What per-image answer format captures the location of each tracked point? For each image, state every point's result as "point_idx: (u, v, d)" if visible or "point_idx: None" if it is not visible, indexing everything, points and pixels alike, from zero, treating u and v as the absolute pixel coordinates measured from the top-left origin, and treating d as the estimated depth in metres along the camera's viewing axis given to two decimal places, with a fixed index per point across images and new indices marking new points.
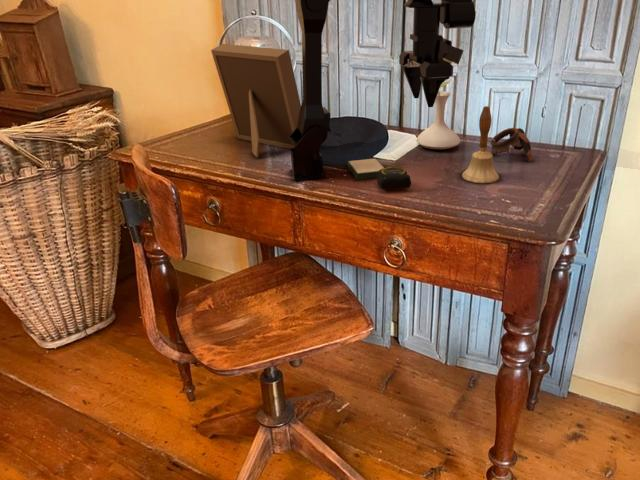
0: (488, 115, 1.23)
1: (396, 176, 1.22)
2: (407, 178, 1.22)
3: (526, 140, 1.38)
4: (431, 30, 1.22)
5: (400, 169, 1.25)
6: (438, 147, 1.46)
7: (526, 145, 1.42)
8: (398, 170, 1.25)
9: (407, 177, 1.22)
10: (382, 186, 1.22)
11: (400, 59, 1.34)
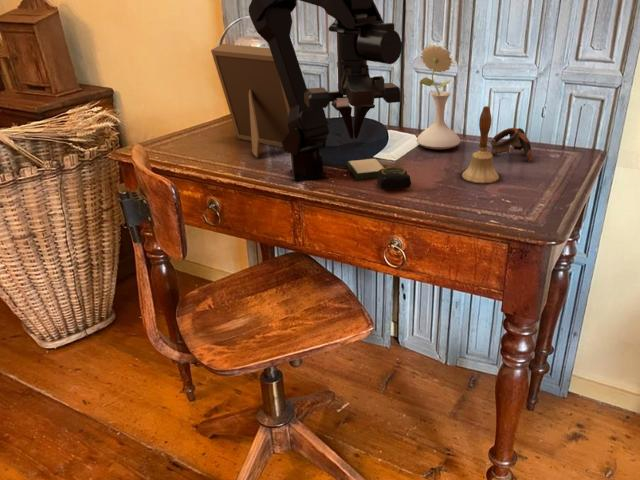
0: (488, 115, 1.23)
1: (396, 176, 1.22)
2: (407, 178, 1.22)
3: (526, 140, 1.38)
4: (338, 58, 1.09)
5: (400, 169, 1.25)
6: (438, 147, 1.46)
7: (526, 145, 1.42)
8: (398, 170, 1.25)
9: (407, 177, 1.22)
10: (382, 186, 1.22)
11: None
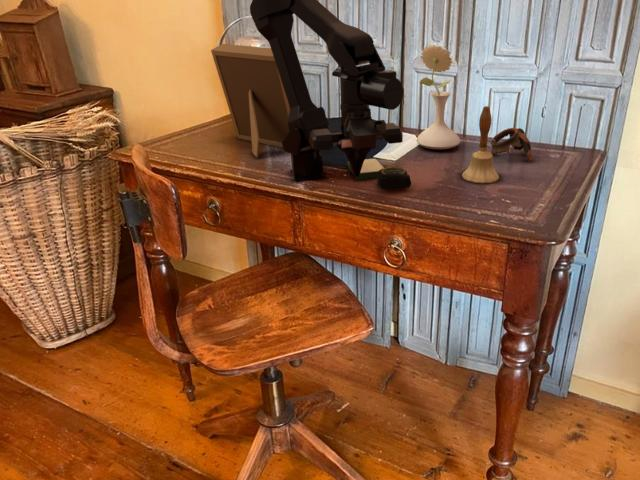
0: (488, 115, 1.23)
1: (396, 176, 1.22)
2: (407, 178, 1.22)
3: (526, 140, 1.38)
4: (341, 101, 1.13)
5: (400, 169, 1.25)
6: (438, 147, 1.46)
7: (526, 145, 1.42)
8: (398, 170, 1.25)
9: (407, 177, 1.22)
10: (382, 186, 1.22)
11: None
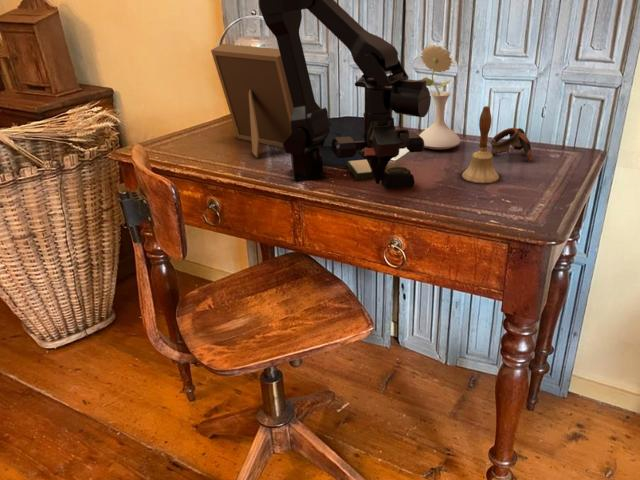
0: (488, 115, 1.23)
1: (400, 176, 1.22)
2: (411, 178, 1.22)
3: (526, 140, 1.38)
4: (365, 110, 1.15)
5: (404, 169, 1.25)
6: (438, 147, 1.46)
7: (526, 145, 1.42)
8: (402, 169, 1.25)
9: (411, 177, 1.22)
10: (386, 185, 1.22)
11: None
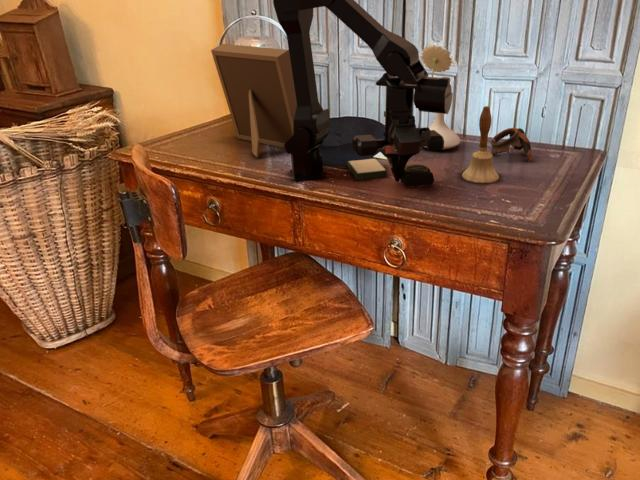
0: (488, 115, 1.23)
1: (420, 174, 1.23)
2: (430, 175, 1.23)
3: (526, 140, 1.38)
4: (386, 109, 1.16)
5: (423, 166, 1.26)
6: None
7: (526, 145, 1.42)
8: (421, 167, 1.26)
9: (430, 174, 1.23)
10: (406, 183, 1.23)
11: None
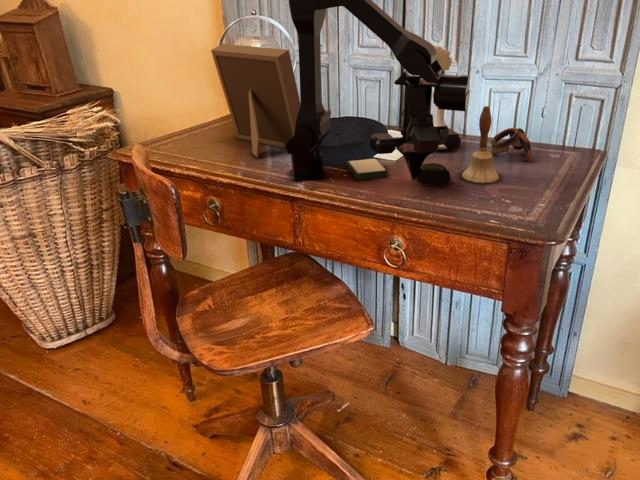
0: (488, 115, 1.23)
1: (436, 172, 1.24)
2: (447, 174, 1.24)
3: (526, 140, 1.38)
4: (404, 107, 1.17)
5: (439, 165, 1.27)
6: (438, 147, 1.46)
7: (526, 145, 1.42)
8: (437, 166, 1.27)
9: (447, 173, 1.24)
10: (422, 181, 1.24)
11: None
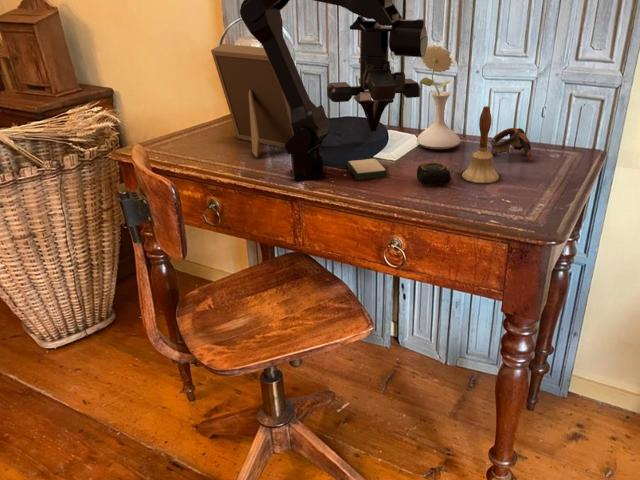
0: (488, 115, 1.23)
1: (437, 172, 1.24)
2: (447, 173, 1.24)
3: (526, 140, 1.38)
4: (360, 54, 1.14)
5: (439, 165, 1.27)
6: (438, 147, 1.46)
7: (526, 145, 1.42)
8: (438, 166, 1.27)
9: (447, 172, 1.24)
10: (423, 181, 1.24)
11: None
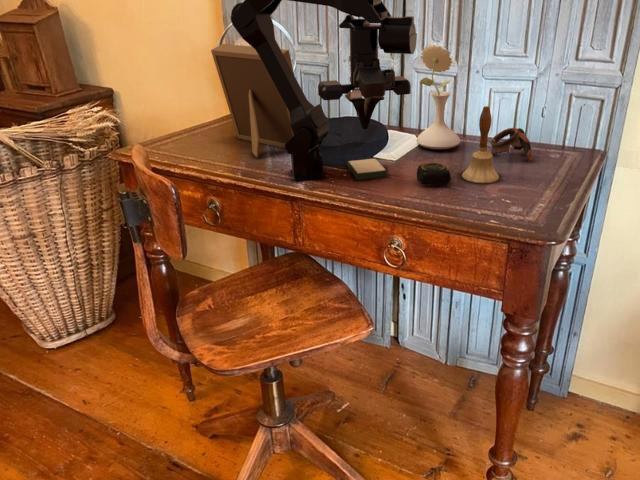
0: (488, 115, 1.23)
1: (437, 172, 1.24)
2: (447, 173, 1.24)
3: (526, 140, 1.38)
4: (350, 52, 1.15)
5: (439, 165, 1.27)
6: (438, 147, 1.46)
7: (526, 145, 1.42)
8: (438, 166, 1.27)
9: (447, 172, 1.24)
10: (423, 181, 1.24)
11: None
